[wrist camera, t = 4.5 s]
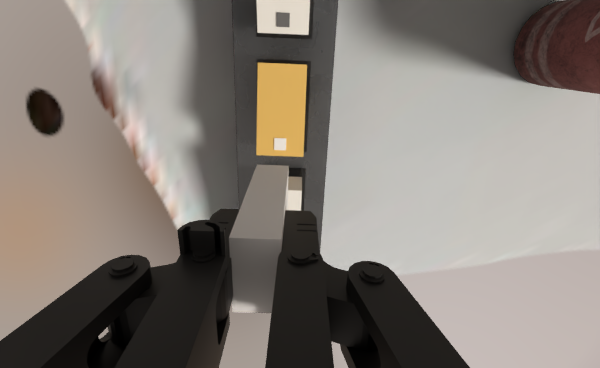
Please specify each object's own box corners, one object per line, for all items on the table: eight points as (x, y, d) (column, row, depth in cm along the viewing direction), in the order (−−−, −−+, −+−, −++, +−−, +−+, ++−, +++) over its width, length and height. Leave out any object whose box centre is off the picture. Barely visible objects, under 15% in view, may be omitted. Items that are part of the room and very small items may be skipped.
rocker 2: (259, 175, 25) (256, 189, 23) (302, 177, 25) (301, 191, 23) (261, 234, 28) (259, 250, 27) (299, 235, 28) (298, 251, 27)
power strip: (235, -198, 21) (221, -253, 17) (346, -192, 21) (356, -245, 17) (246, 227, 33) (239, 250, 29) (317, 229, 33) (320, 253, 29)
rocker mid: (260, 67, 23) (257, 62, 21) (306, 69, 23) (307, 64, 21) (259, 153, 24) (256, 155, 22) (302, 154, 24) (303, 157, 22)
